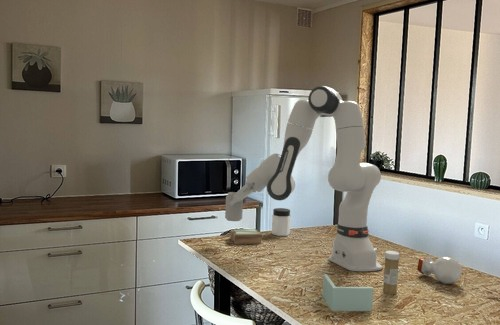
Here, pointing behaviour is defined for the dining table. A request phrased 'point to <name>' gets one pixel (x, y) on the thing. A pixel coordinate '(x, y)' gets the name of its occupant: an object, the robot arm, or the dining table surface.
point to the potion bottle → (441, 269)
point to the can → (233, 208)
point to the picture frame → (245, 236)
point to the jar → (281, 222)
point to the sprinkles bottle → (391, 272)
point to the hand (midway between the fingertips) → (233, 202)
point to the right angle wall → (347, 297)
